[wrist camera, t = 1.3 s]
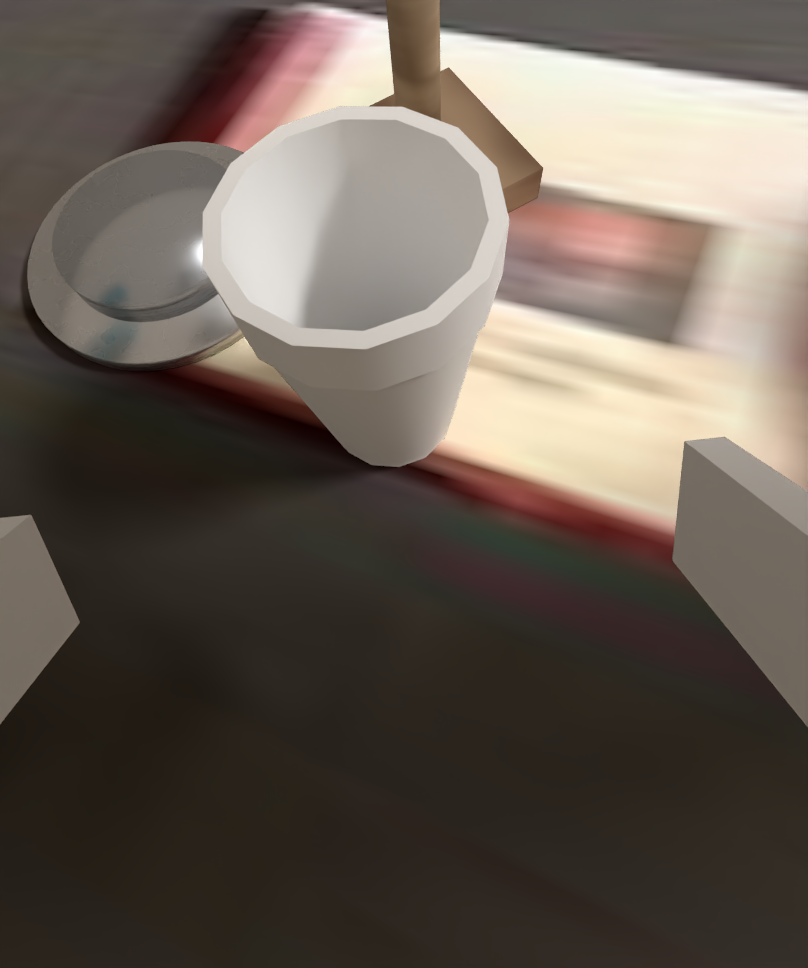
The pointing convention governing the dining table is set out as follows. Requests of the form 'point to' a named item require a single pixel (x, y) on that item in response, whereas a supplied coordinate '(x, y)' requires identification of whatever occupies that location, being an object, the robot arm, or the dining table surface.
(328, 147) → the foam cup
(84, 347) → the grey plate
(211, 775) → the dining table surface
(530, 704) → the dining table surface
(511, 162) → the stand
